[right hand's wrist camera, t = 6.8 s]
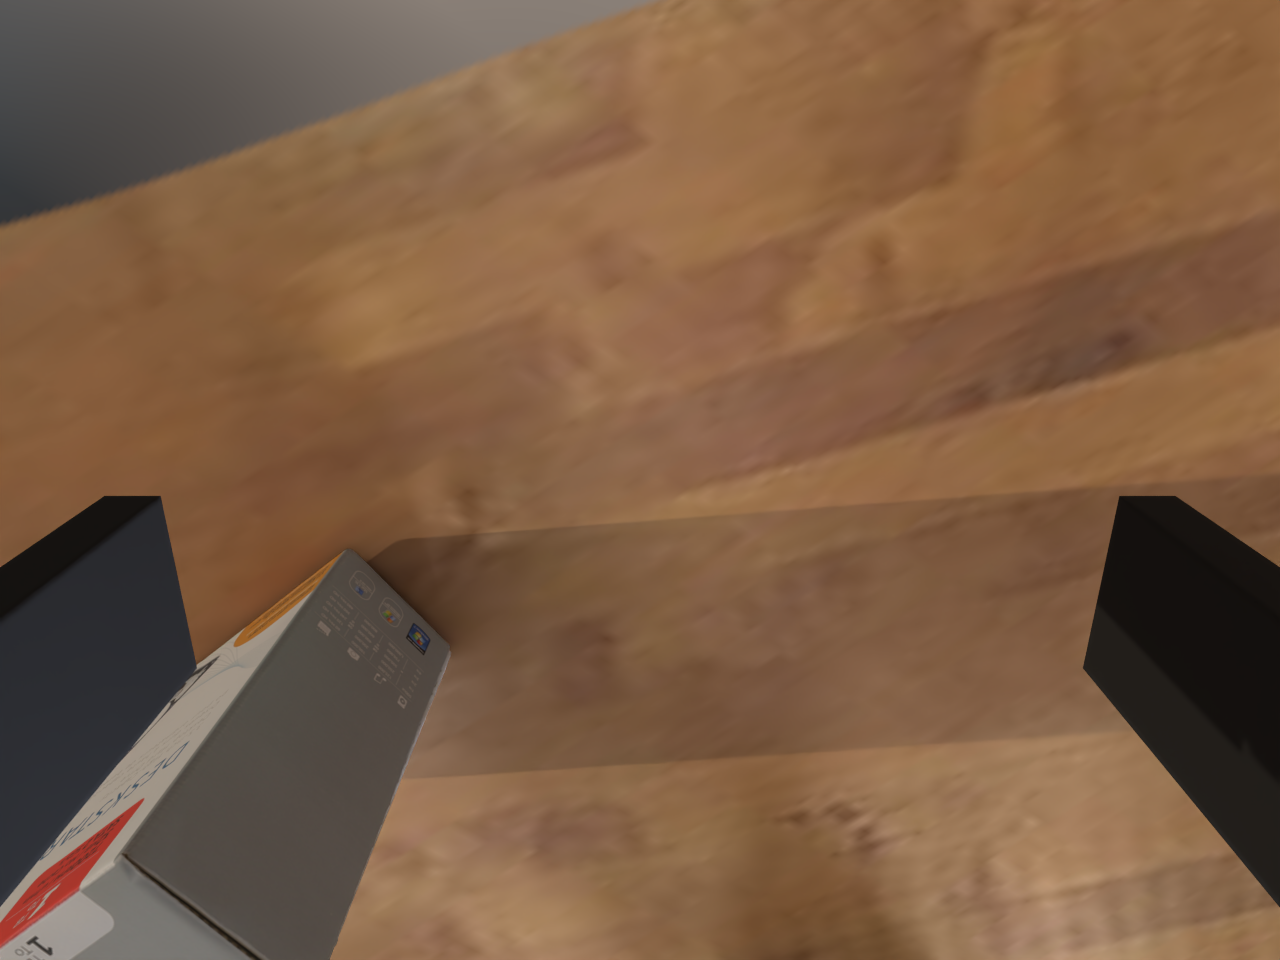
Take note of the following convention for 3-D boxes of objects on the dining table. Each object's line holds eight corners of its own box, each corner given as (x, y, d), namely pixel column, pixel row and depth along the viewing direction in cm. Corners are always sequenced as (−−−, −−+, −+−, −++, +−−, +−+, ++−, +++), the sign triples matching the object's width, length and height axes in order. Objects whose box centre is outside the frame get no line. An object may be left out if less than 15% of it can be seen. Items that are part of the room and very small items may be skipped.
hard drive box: (349, 538, 43) (128, 850, 24) (458, 646, 45) (330, 1008, 27) (137, 706, 46) (-199, 1091, 28) (246, 799, 49) (3, 1213, 30)
